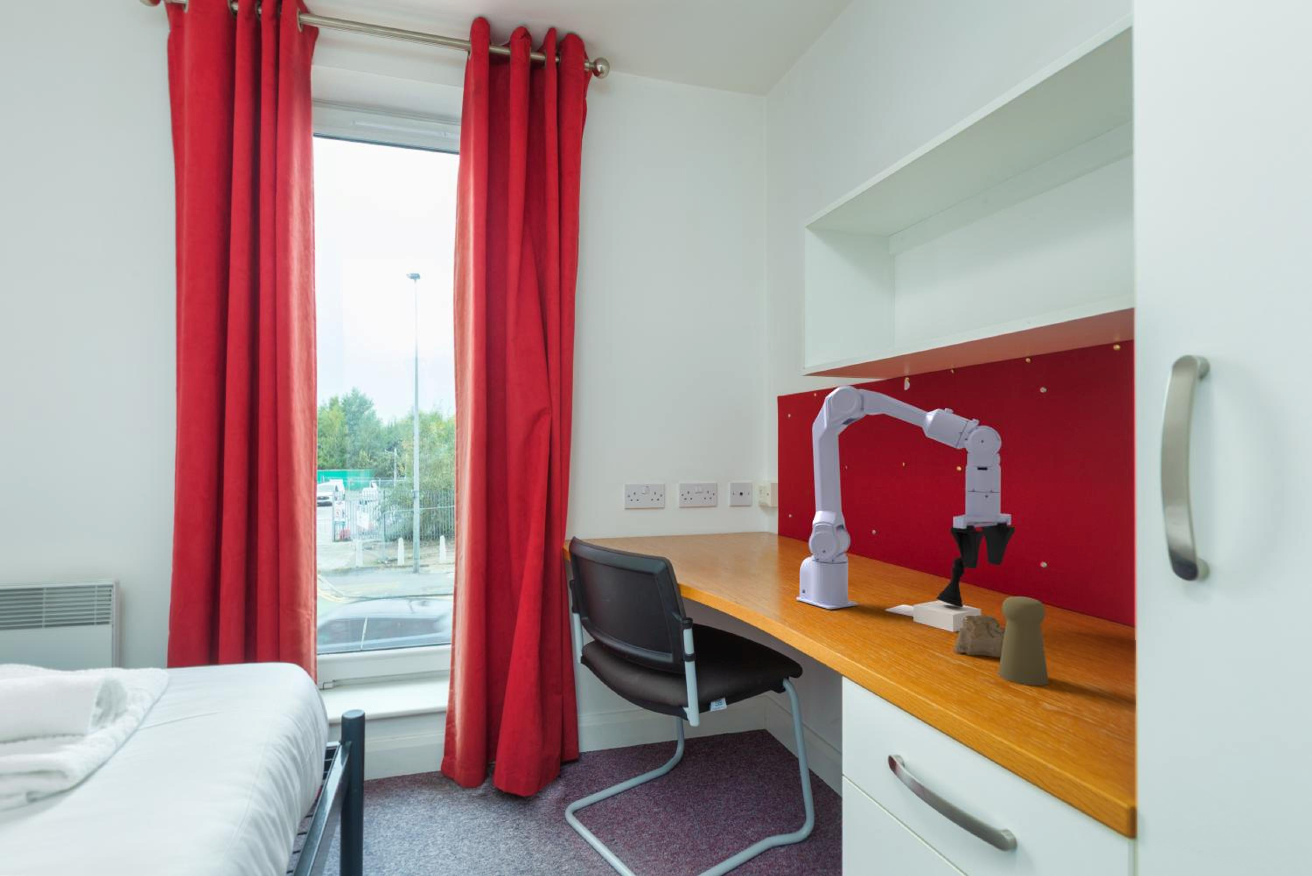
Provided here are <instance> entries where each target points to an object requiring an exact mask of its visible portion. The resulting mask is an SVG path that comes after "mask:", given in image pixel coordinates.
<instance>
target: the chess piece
mask: <svg viewBox="0 0 1312 876" xmlns="http://www.w3.org/2000/svg"><path fill="white" fill-rule="evenodd" d="M952 564H953V566H951V575H952V576H951V580H950V581H949V583H948V584H947V586H946V587H945V588H944V589H943V590H942V591H940V593H939V594H938V596H937V597H936V600H937V601H939V600H940V601H943V602H946V603H949V604H952V605H955V606H959V607H963V605H964V604H963V598H962V595H961V591H960V590H961V589H960V581H961V578H963V575H965V574H966V571H965V569H966V567H964V566H963V563H962V559H961V557H958V556H957V557H956V558H954V559H953V563H952Z"/></svg>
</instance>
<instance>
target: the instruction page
mask: <svg viewBox="0 0 1312 876" xmlns="http://www.w3.org/2000/svg"><path fill="white" fill-rule="evenodd" d="M885 612H890V613H894V614H900V615H904V616H908V617H913V618H914V605H907V604H901V605H897V606H893V607H890V608H886V609H885Z"/></svg>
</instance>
